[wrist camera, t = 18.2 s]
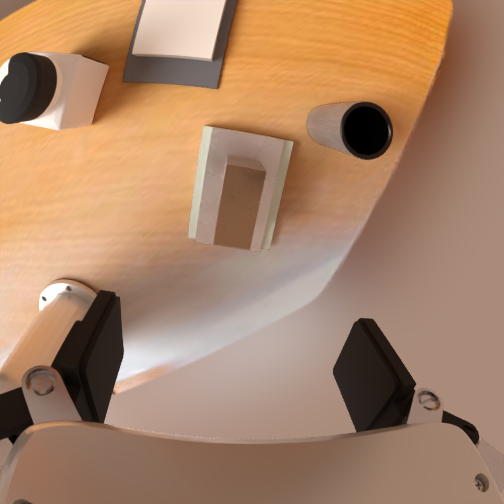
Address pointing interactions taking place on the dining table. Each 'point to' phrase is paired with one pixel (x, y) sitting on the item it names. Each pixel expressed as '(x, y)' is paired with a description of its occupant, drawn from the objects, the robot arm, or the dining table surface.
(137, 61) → the mat
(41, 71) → the medicine bottle
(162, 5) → the tile
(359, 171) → the dining table surface
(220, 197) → the float
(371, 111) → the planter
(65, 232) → the dining table surface
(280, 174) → the board
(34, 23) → the dining table surface
